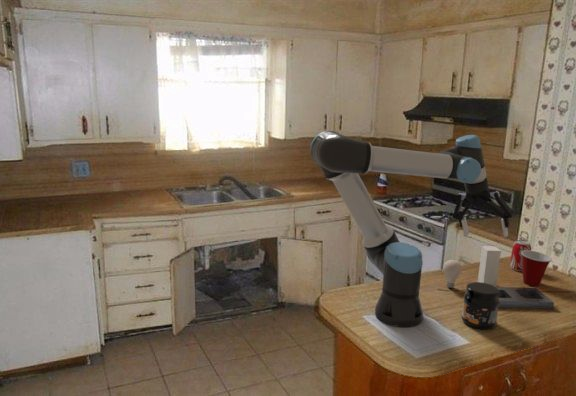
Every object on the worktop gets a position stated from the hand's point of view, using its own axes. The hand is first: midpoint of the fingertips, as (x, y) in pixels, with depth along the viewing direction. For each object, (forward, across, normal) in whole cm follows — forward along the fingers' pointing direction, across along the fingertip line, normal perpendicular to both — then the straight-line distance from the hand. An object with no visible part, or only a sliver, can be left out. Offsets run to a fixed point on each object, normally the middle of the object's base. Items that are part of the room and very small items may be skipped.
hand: (486, 235), depth 163 cm
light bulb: (+19, +14, +6) cm, 25 cm away
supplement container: (+18, -3, +27) cm, 33 cm away
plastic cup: (+30, -7, -18) cm, 36 cm away
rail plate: (+24, -6, +3) cm, 25 cm away
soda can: (+31, +1, -31) cm, 44 cm away
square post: (+24, +5, -5) cm, 25 cm away
